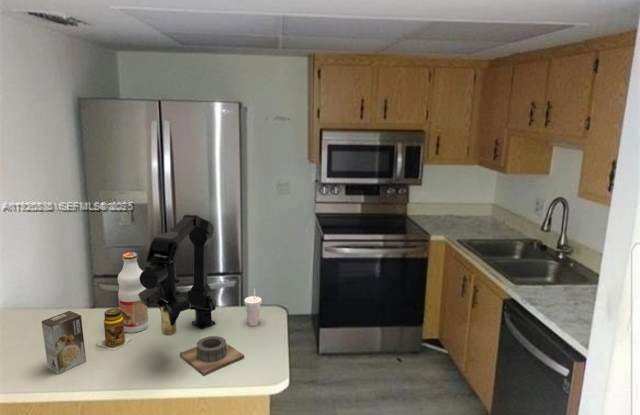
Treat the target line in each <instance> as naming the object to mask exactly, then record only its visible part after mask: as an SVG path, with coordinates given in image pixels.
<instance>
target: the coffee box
mask: <svg viewBox="0 0 640 415" xmlns="http://www.w3.org/2000/svg"><path fill="white" fill-rule="evenodd" d="M41 327H42V335H43V341H44V350H45V356H46V357H45V358H46V364H47V369H49V370H51V371H53V372H54V373H56V374H58V375H60V374H62V373H64V372H66V371H69V370H70V369H72V368H75V367H77V366H78V365H81V364H83V363H85V362H87V356H86V347H85V338H84V328H83V322H82V315H81V314H78V313H77V312H73V311H72V310H68V311H65V312H62V313H59V314H57V315H55V316H51V317H50V318H47V319H44V320H41Z"/></svg>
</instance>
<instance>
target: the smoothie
mask: <svg viewBox="0 0 640 415" xmlns="http://www.w3.org/2000/svg"><path fill="white" fill-rule="evenodd" d="M262 300H263V299H262V298H261V297H260V296H256V288H253V296H252V295H251V296H247V297H246V298H245V299H244V304H245V310H246V318H247V324H248V325H249V326H251V327H255V326H258V325H259V321H260V320H259V318H260V312H261V304H262V303H263V301H262Z"/></svg>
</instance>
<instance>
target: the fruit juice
mask: <svg viewBox="0 0 640 415" xmlns="http://www.w3.org/2000/svg"><path fill="white" fill-rule="evenodd" d="M121 256H122V261H123V267H122V269H121V271H120V272H119V273H118V275H117V282H118V285H119V289H118V291H117V292H118V294H117V295H118V309H120V310H121V314H122V317H123V321H124V333H127V334H128V333H131V334H133V333H139V332H142V331H144V330H146V329H147V328H148V326H149V313H148V312H149V311H148V307H147V306H146V305H144V304H143V303H142V301H141V300H140V298H139V296H138V294H139V293H140V292H142V291H143V290H145V289H147V288H145V287H144V286H142V284H141V283H140V279H139V277H140V275H141V273H142V272H143V271H144V270H143V269H141V268H140V266H139V264H138V260H137V259H138V253H137V252H131V251H130V252H129V251H128V252H125V253H123V254H122V255H121Z"/></svg>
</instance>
